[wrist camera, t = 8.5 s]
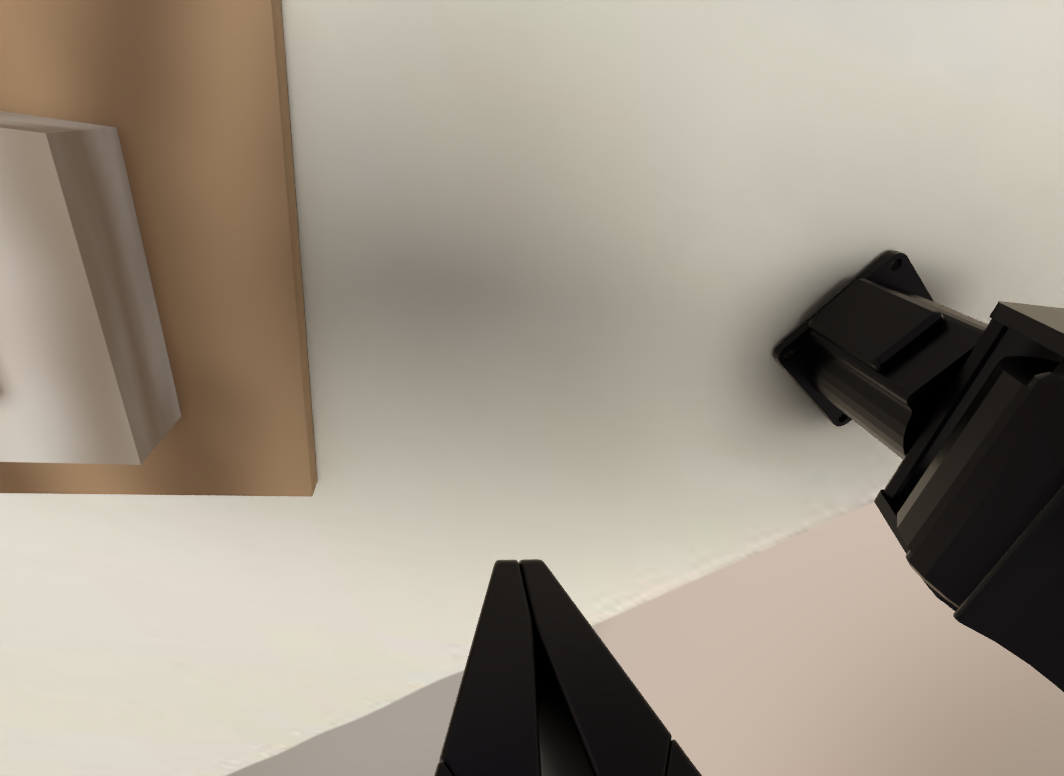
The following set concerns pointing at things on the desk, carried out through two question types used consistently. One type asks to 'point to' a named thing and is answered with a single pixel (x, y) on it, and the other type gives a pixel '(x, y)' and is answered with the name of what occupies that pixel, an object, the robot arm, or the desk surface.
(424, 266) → the desk surface
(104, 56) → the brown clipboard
